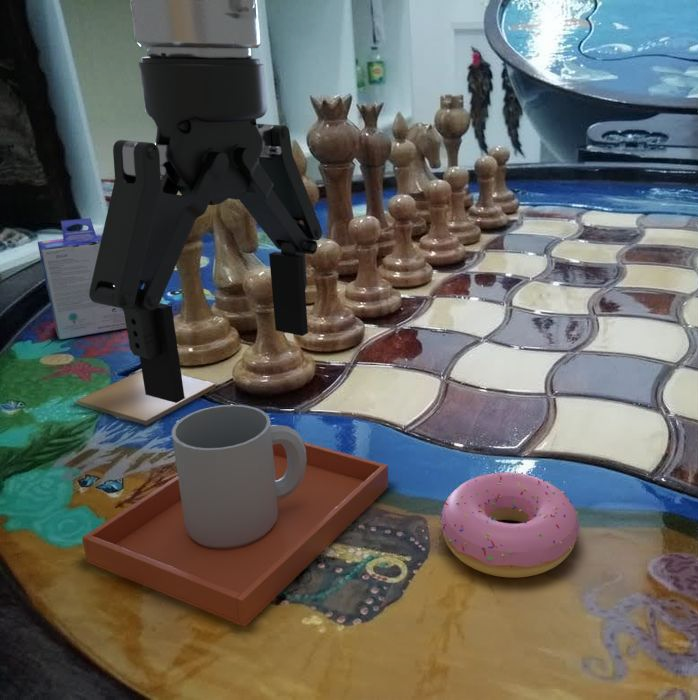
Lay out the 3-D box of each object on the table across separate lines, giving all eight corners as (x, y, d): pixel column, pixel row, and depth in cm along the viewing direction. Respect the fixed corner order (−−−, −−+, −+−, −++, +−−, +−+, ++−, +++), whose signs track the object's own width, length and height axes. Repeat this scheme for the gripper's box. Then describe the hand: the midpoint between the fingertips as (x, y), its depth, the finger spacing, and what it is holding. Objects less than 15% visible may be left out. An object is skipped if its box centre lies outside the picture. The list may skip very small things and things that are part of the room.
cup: (178, 512, 61) (163, 416, 57) (296, 481, 65) (289, 391, 62) (195, 562, 55) (181, 459, 51) (323, 524, 60) (318, 428, 56)
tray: (86, 562, 55) (81, 537, 54) (254, 447, 71) (252, 427, 70) (245, 627, 49) (242, 600, 48) (388, 487, 65) (388, 464, 64)
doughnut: (602, 571, 56) (608, 525, 54) (466, 603, 52) (467, 555, 50) (541, 493, 65) (544, 452, 63) (422, 515, 61) (422, 473, 60)
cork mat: (77, 405, 78) (76, 400, 78) (150, 371, 87) (149, 366, 86) (146, 425, 74) (145, 420, 74) (216, 388, 83) (215, 383, 83)
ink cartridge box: (131, 315, 104) (115, 213, 98) (140, 327, 100) (124, 222, 94) (53, 328, 98) (31, 221, 93) (59, 341, 94) (36, 230, 89)
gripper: (70, 54, 34) (138, 447, 43) (358, 54, 55) (367, 318, 64) (-33, 51, 37) (49, 420, 45) (278, 52, 58) (296, 305, 66)
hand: (235, 361), depth 55 cm, fingers open, 13 cm apart
